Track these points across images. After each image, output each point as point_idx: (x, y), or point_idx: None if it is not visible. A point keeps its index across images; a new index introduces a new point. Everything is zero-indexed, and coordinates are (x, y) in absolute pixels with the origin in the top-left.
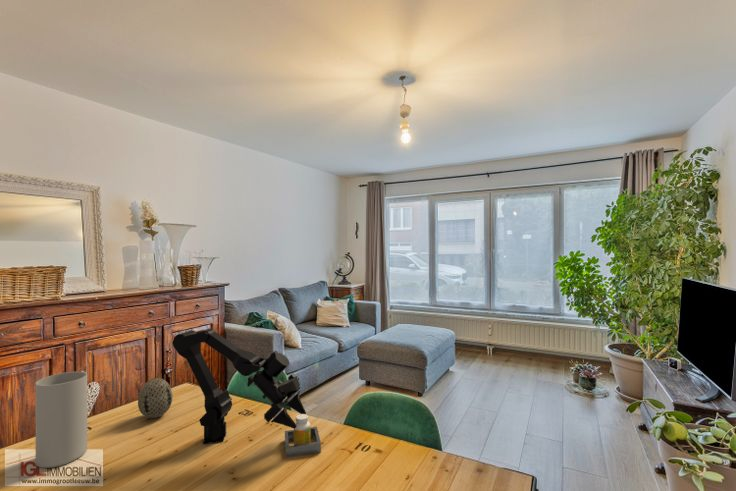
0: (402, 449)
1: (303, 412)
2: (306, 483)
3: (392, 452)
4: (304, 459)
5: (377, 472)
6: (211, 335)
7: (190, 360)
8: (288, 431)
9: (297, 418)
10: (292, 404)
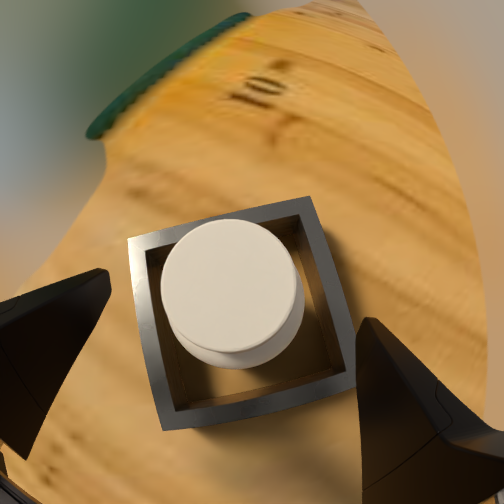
0: (272, 35)
1: (97, 290)
2: (474, 249)
3: (287, 47)
4: (361, 284)
5: (380, 80)
6: None
7: None
8: (167, 408)
9: (276, 326)
10: (24, 404)
